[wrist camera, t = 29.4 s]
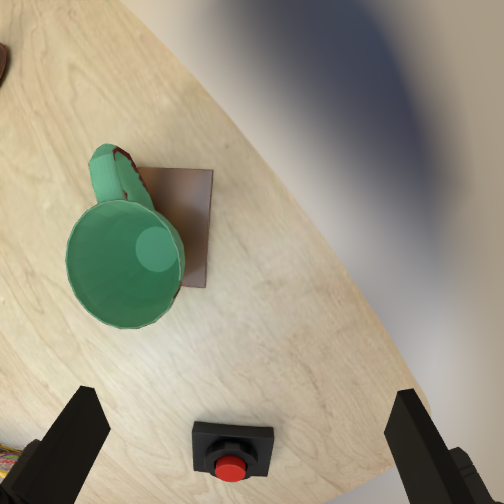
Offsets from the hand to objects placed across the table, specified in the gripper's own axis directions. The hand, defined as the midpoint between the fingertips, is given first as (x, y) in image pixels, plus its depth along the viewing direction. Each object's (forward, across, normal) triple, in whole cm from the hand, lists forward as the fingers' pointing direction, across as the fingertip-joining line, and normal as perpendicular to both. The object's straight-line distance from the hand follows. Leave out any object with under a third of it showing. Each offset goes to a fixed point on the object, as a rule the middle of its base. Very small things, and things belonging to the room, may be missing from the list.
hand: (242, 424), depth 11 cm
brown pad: (+21, -10, +5) cm, 24 cm away
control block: (+18, -3, -24) cm, 30 cm away
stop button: (+14, -3, -24) cm, 28 cm away
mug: (+21, -10, +4) cm, 24 cm away
